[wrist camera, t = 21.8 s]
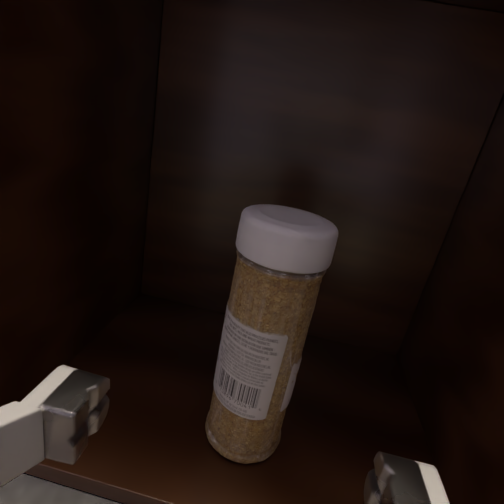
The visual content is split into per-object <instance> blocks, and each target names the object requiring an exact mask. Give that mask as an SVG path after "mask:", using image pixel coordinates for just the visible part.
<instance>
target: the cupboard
mask: <svg viewBox="0 0 504 504" xmlns="http://www.w3.org/2000/svg"><path fill="white" fill-rule="evenodd" d="M258 204H270V205H280V206H287V207H292V208H296V209H300V210H304V211H308V212H311V213H314V214H316V215H319V216H321V217H323V218H325V219H327V220H329V221H330V222H332V223H333V224H334V225H335V226H336V227H337V229H338V239H337V243H336V247H335V251H334V254H333V258H332V262H331V265H330V266H329V268H327V270H326V273H325V275H324V276H323V277H322V282H321V284H320V288H319V292H318V296H317V299H316V304H315V308H314V311H313V315H312V318H311V321H310V325H309V328H308V333H307V336H306V340H305V344H304V347H303V351H302V359H301V363H300V367H299V370H298V374H297V377H296V381H295V385H294V389H293V392H292V396H291V399H290V402H289V404H288V406H287V408H286V412H285V416H284V419H283V423H282V427H281V439H280V442H279V444H278V446H277V448H276V449H275V451H274V452H273V454H272V455H271V456H269V457H268V458H267V459H265V460H264V461H261V462H256V463H248V464H243V463H238V462H234V461H232V460H229V459H227V458H225V457H224V456H222V455H221V454H220V453H219V452H217V451H216V450H215V449H214V448H213V447H212V445H211V444H210V443H209V440H208V438H207V434H206V430H205V423H206V418H207V415H208V412H209V410H210V405H211V401H212V394H213V389H214V385H213V383H214V376H215V370H216V364H217V358H218V353H219V347H220V341H221V335H222V330H223V324H224V319H225V313H226V307H227V302H228V300H229V297H230V292H231V286H232V280H233V275H234V271H235V266H236V262H237V253H236V250H237V247H236V238H237V232H238V226H239V222H240V217H241V213H242V211H243V210H244V209H245V208H246V207H248V206H251V205H258ZM61 365H66V366H69V367H72V368H76V369H80V370H83V371H87V372H90V373H93V374H97V375H100V376H103V377H107V378H109V379H110V389H109V390H108V391H107V393H106V395H107V396H108V398H109V408H108V412H107V415H106V417H105V420H104V422H103V424H102V425H101V427H100V428H99V430H98V431H97V432H96V433H94V434H92V435H90V436H88V446H87V447H86V448H85V450H84V451H83V453H82V454H81V455H80V457H79V458H78V460H77V461H76V462H75V464H74V465H71V464H67V463H63V462H59V461H55V460H52V459H48V458H45V459H44V460H43V461H42V462H40V463H38V464H37V465H35V466H34V467H32V468H30V469H29V470H27V471H26V472H24V473H26V474H29V475H33V476H36V477H39V478H42V479H46V480H49V481H52V482H56V483H59V484H62V485H65V486H69V487H72V488H75V489H78V490H82V491H85V492H88V493H91V494H95V495H98V496H101V497H104V498H108V499H111V500H114V501H117V502H121V503H124V504H364V485H365V479H366V477H367V474H368V472H369V471H370V470H372V469H374V468H375V467H374V461H373V460H374V458H375V456H376V454H377V453H378V452H379V451H380V452H384V453H388V454H392V455H395V456H399V457H403V458H407V459H411V460H414V461H418V462H422V463H426V464H430V465H434V466H435V468H436V469H437V471H438V474H439V476H440V479H441V482H442V484H443V487H444V489H445V492H446V495H447V497H448V500H449V503H450V504H504V0H0V407H1V406H4V405H6V404H9V403H11V402H14V401H17V402H21V401H22V400H23V399H24V398H25V397H26V396H27V395H28V394H29V393H30V392H31V391H32V390H33V389H35V388H36V387H37V386H38V385H39V384H40V383H41V382H42V381H43V380H44V379H45V378H46V377H47V376H48V375H49V374H50V373H52V372H53V371H54V370H55V369H56V368H57V367H59V366H61Z"/></svg>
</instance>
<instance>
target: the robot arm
mask: <svg viewBox="0 0 504 504" xmlns="http://www.w3.org/2000/svg"><path fill="white" fill-rule="evenodd" d="M109 389H110V379H109V378H107V377H103V376H100V375H97V374H93V373H90V372H87V371H83V370H80V369H76V368H72V367H69V366H66V365H61V366H59V367H57V368H56V369H55V370H54V371H53V372H52V373H50V374H49V375H48V376H47V377H46V378H45V379H44V380H43V381H42V382H41V383H40V384H39V385H38V386H37V387H36V388H35V389H33V390H32V391H31V392H30V393H29V394H28V395H27V396H26V397H25V398H24V399H23V400H22V401H21V402H17V401H14V402H11V403H9V404H6V405H4V406H1V407H0V487H2V486H4V485H5V484H7V483H8V482H10V481H12V480H13V479H15V478H16V477H18V476H19V475H21V474H23V473H24V472H26V471H27V470H29V469H30V468H32V467H34V466H35V465H37V464H38V463H40V462H42V461H43V460H44V459H45V458H48V459H52V460H55V461H59V462H63V463H67V464H71V465H74V464H75V462H76V461H77V460H78V458H79V457H80V455H81V454H82V453H83V451H84V450H85V448H86V447H87V446H88V436H90V435H92V434H94V433H96V432H97V431H98V430H99V428H100V427H101V425H102V424H103V422H104V420H105V417H106V415H107V412H108V408H109V398H108V396H107V395H106V393H107V391H108V390H109ZM373 461H374V467H375V468H374V469H372V470H370V471H369V472H368V474H367V477H366V479H365V485H364V504H450V503H449V500H448V497H447V495H446V492H445V489H444V487H443V484H442V482H441V479H440V476H439V474H438V471H437V469H436V468H435V466H434V465H430V464H426V463H422V462H418V461H414V460H411V459H407V458H403V457H399V456H395V455H392V454H388V453H384V452H380V451H379V452H378V453H377V454H376V456H375V458H374V460H373Z"/></svg>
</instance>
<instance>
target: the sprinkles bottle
mask: <svg viewBox="0 0 504 504" xmlns="http://www.w3.org/2000/svg"><path fill="white" fill-rule="evenodd" d="M337 239H338V229H337V227H336V226H335V225H334V224H333V223H332V222H330V221H329V220H327V219H325V218H323V217H321V216H319V215H316V214H314V213H311V212H308V211H304V210H300V209H296V208H292V207H287V206H280V205H270V204H258V205H251V206H248V207H246V208H245V209H244V210H243V211H242V213H241V217H240V222H239V226H238V232H237V238H236V247H237V250H236V253H237V262H236V266H235V271H234V275H233V280H232V286H231V292H230V297H229V300H228V302H227V307H226V313H225V319H224V324H223V330H222V335H221V341H220V347H219V353H218V358H217V364H216V370H215V376H214V383H213V385H214V389H213V394H212V401H211V405H210V410H209V412H208V415H207V418H206V423H205V430H206V434H207V438H208V440H209V443H210V444H211V445H212V447H213V448H214V449H215V450H216V451H217V452H219V453H220V454H221V455H222V456H224V457H225V458H227V459H229V460H232V461H234V462H238V463H243V464H248V463H256V462H261V461H264V460H265V459H267V458H268V457H269V456H271V455H272V454H273V452H274V451H275V449H276V448H277V446H278V444H279V442H280V439H281V427H282V423H283V419H284V416H285V412H286V408H287V406H288V404H289V402H290V399H291V396H292V392H293V389H294V385H295V381H296V377H297V374H298V370H299V367H300V363H301V359H302V351H303V347H304V344H305V340H306V336H307V333H308V328H309V325H310V321H311V318H312V315H313V311H314V308H315V304H316V299H317V296H318V292H319V288H320V284H321V282H322V277H323V276H324V275H325V273H326V270H327V268H329V266H330V265H331V262H332V258H333V254H334V251H335V247H336V243H337Z"/></svg>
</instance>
